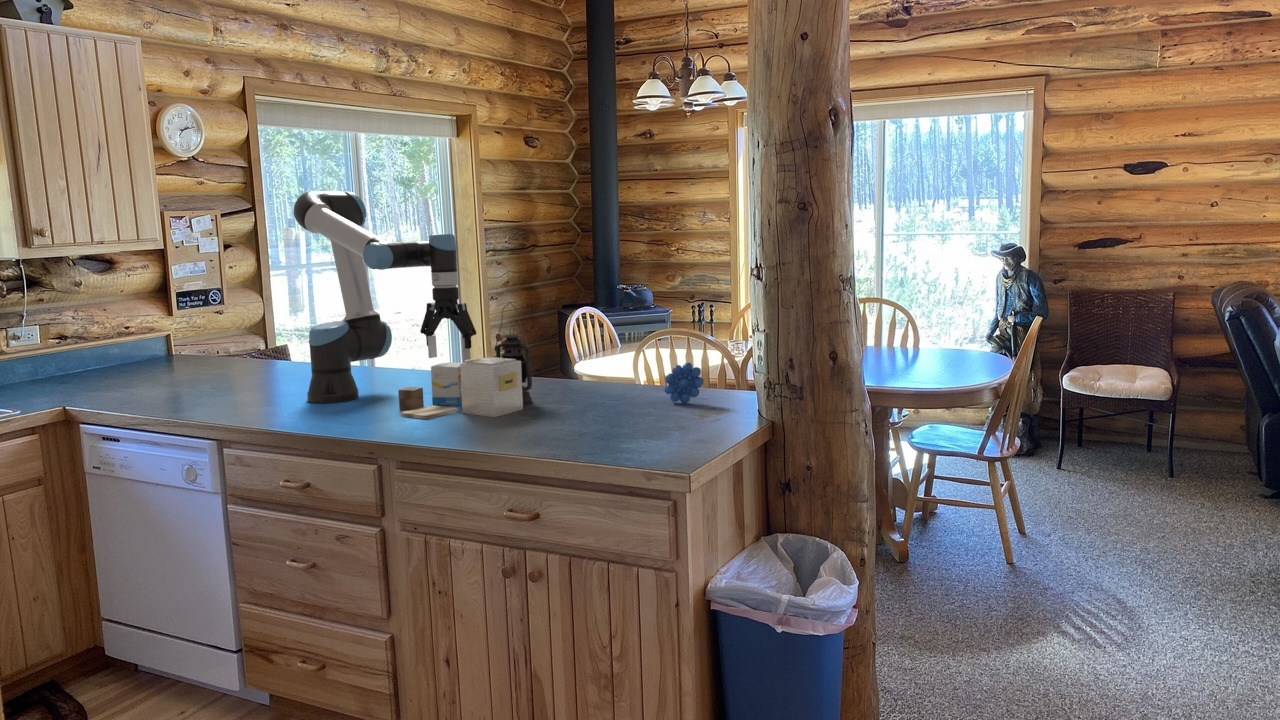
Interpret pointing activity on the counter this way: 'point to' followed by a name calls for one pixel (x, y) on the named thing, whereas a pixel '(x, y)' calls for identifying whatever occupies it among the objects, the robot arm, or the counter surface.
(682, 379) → the blue flower
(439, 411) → the board
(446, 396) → the ink box
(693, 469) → the counter surface
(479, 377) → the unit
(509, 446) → the counter surface
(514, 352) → the lantern
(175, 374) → the counter surface
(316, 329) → the robot arm
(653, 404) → the counter surface
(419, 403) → the walnut block
